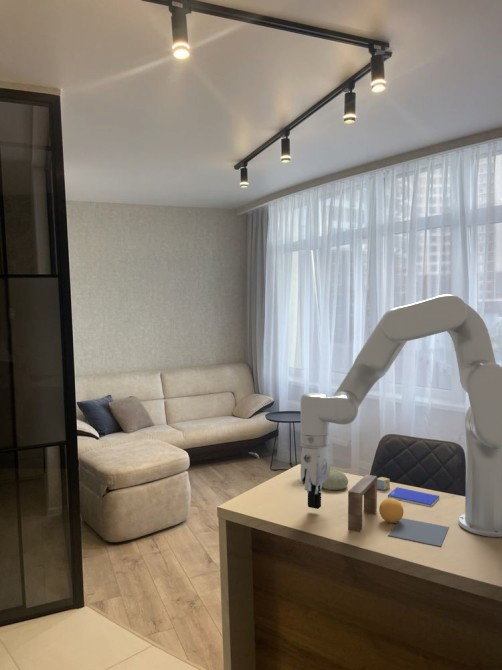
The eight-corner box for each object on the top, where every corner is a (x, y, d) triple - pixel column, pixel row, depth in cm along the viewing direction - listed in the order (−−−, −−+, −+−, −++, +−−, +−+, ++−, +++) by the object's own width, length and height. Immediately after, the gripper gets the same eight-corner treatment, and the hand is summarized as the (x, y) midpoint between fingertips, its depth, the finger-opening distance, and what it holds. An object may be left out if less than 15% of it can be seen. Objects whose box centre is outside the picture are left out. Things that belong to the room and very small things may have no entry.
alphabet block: (375, 488, 156) (375, 478, 156) (381, 485, 158) (381, 476, 158) (383, 490, 154) (383, 480, 154) (390, 488, 156) (390, 478, 155)
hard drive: (387, 494, 148) (431, 503, 140) (397, 486, 154) (439, 495, 147) (387, 499, 148) (431, 509, 141) (397, 491, 154) (439, 500, 147)
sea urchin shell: (353, 485, 153) (334, 467, 153) (334, 503, 153) (316, 485, 153) (348, 475, 162) (330, 458, 162) (330, 493, 162) (312, 475, 162)
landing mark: (448, 527, 127) (448, 526, 127) (440, 547, 116) (440, 546, 116) (399, 518, 133) (399, 517, 133) (388, 535, 122) (388, 535, 122)
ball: (389, 521, 133) (409, 513, 131) (384, 529, 128) (405, 521, 126) (377, 500, 135) (397, 491, 132) (372, 507, 129) (393, 498, 127)
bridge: (376, 511, 137) (377, 476, 137) (359, 532, 124) (360, 493, 124) (365, 509, 139) (366, 474, 138) (348, 530, 126) (348, 491, 125)
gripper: (317, 447, 127) (316, 519, 128) (337, 435, 140) (337, 500, 141) (290, 444, 131) (289, 514, 132) (312, 432, 144) (312, 496, 145)
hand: (314, 506), depth 137 cm, fingers closed
